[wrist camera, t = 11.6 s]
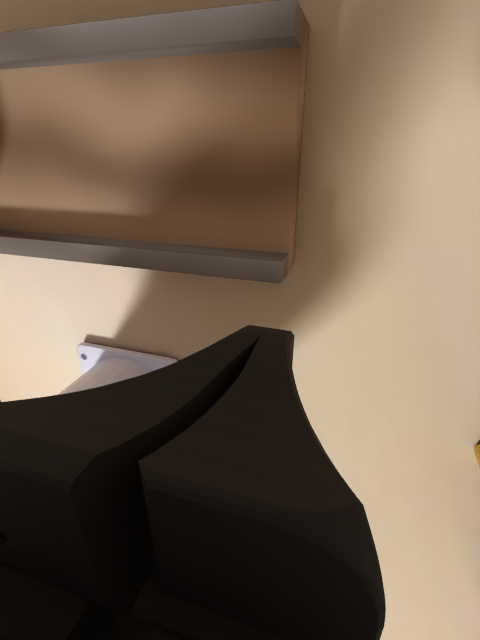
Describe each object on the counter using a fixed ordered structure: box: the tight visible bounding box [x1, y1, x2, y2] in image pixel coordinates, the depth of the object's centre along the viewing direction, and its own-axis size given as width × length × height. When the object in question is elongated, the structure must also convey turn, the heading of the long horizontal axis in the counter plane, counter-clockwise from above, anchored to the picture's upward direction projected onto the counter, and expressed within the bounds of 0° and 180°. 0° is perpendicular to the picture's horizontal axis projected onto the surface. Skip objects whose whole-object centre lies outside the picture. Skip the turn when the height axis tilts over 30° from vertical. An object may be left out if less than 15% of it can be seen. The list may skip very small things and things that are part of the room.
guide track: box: [0, 0, 309, 283], centre depth 19 cm, size 10×30×4 cm, turn 90°
